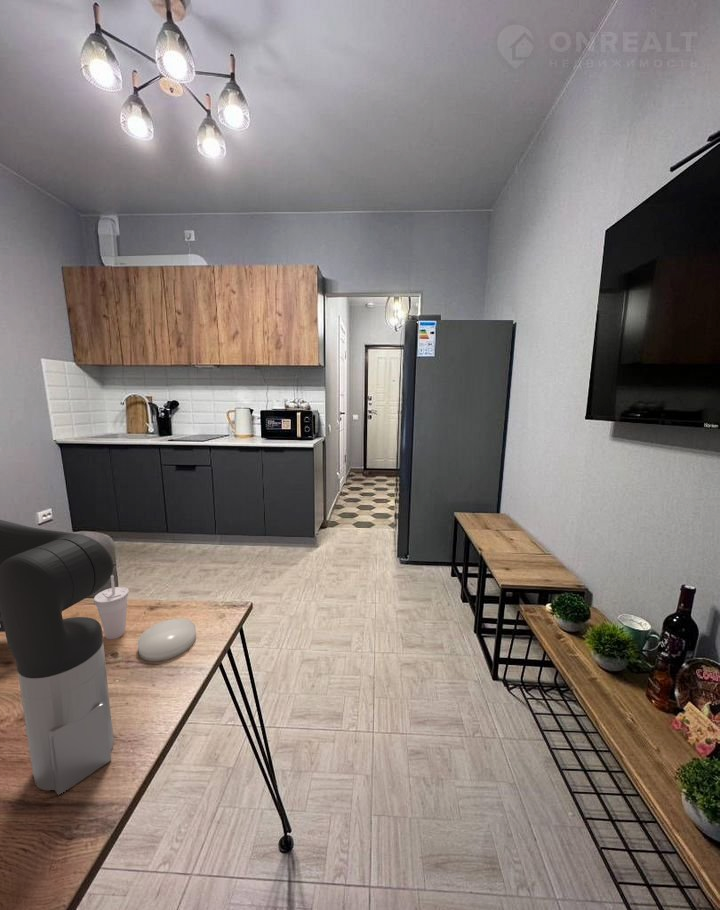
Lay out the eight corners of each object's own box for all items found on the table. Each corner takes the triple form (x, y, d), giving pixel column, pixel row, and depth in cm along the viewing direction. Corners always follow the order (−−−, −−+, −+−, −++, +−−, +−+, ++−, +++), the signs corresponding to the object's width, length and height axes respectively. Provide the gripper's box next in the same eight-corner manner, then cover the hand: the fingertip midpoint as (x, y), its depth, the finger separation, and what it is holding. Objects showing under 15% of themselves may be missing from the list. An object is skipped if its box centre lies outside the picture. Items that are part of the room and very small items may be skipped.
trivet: (205, 640, 78) (205, 631, 78) (152, 669, 70) (151, 660, 69) (181, 620, 85) (180, 612, 85) (129, 645, 76) (129, 636, 76)
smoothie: (116, 645, 76) (110, 584, 74) (90, 641, 77) (83, 581, 75) (139, 626, 82) (134, 570, 80) (114, 623, 83) (109, 567, 81)
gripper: (-51, 611, 68) (43, 606, 70) (11, 575, 82) (88, 571, 84) (-44, 647, 69) (48, 641, 71) (16, 605, 83) (92, 600, 85)
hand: (70, 603), depth 77 cm, fingers open, 8 cm apart
